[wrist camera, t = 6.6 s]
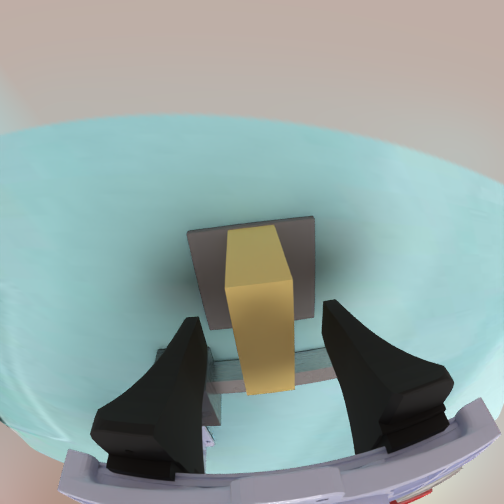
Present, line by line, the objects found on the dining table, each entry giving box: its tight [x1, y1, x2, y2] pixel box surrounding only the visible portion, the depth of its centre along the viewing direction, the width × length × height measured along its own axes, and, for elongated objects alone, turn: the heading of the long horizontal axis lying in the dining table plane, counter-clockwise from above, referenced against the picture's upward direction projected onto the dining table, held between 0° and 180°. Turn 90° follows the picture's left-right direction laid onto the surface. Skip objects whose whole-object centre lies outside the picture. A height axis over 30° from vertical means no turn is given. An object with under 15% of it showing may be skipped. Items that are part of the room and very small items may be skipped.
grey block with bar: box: [154, 347, 337, 426], centre depth 19 cm, size 5×17×5 cm, turn 96°
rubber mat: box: [187, 216, 315, 330], centre depth 17 cm, size 7×7×1 cm
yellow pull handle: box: [225, 225, 295, 395], centre depth 14 cm, size 7×2×6 cm, turn 6°
